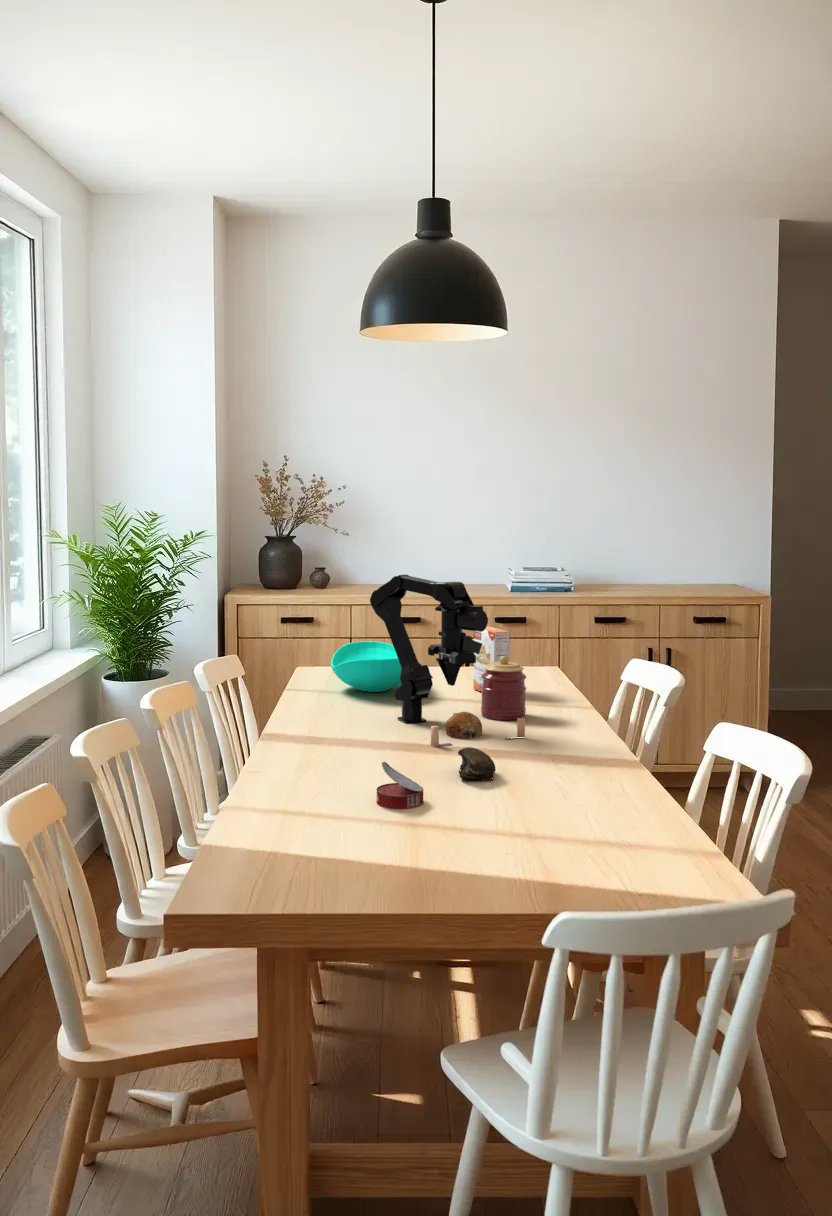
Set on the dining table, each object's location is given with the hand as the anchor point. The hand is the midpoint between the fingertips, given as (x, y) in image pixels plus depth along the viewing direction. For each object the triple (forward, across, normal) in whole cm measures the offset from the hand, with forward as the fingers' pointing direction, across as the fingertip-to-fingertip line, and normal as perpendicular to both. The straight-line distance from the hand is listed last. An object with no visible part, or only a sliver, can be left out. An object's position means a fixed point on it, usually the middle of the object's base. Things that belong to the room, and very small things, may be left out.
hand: (451, 685), depth 299 cm
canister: (+12, +9, -21) cm, 26 cm away
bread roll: (+12, -8, 0) cm, 15 cm away
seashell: (+12, -47, +16) cm, 51 cm away
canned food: (+12, -60, +40) cm, 73 cm away
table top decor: (+12, +60, -1) cm, 61 cm away
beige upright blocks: (+12, -17, 0) cm, 21 cm away
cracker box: (+12, +42, -34) cm, 55 cm away
